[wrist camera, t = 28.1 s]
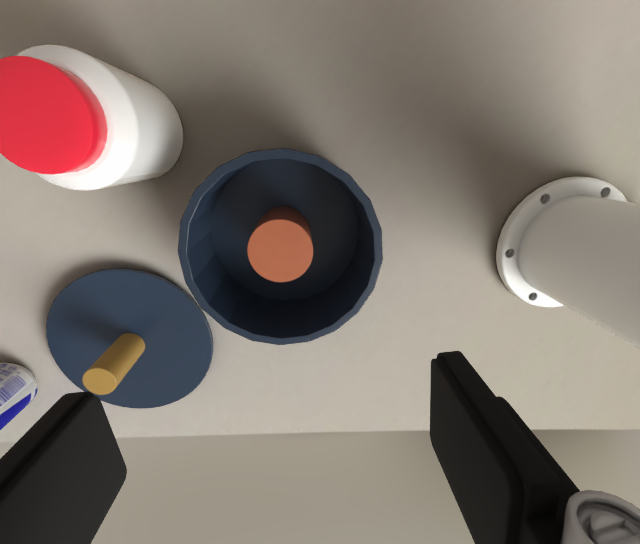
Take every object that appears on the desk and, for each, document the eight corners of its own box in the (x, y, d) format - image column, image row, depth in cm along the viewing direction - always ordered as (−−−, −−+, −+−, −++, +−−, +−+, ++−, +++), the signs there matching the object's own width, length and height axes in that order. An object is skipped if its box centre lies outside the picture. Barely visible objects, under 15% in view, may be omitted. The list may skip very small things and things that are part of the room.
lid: (196, 257, 31) (170, 283, 25) (227, 392, 36) (212, 442, 30) (28, 275, 31) (-41, 307, 25) (84, 409, 36) (38, 464, 30)
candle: (307, 203, 30) (309, 215, 24) (313, 255, 31) (316, 278, 26) (252, 209, 30) (241, 223, 24) (261, 261, 31) (253, 285, 26)
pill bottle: (132, 53, 26) (20, -14, 15) (203, 142, 28) (147, 136, 18) (61, 118, 27) (-88, 98, 16) (135, 198, 29) (45, 224, 19)
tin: (358, 141, 29) (378, 138, 22) (367, 294, 34) (385, 333, 26) (190, 158, 28) (154, 161, 21) (223, 311, 33) (203, 354, 26)
